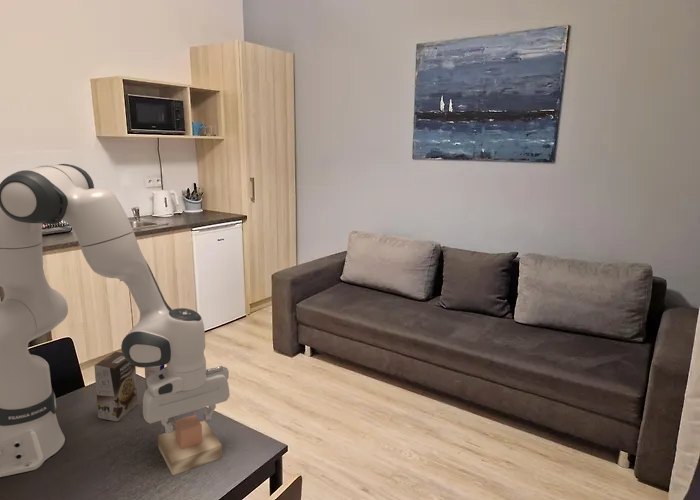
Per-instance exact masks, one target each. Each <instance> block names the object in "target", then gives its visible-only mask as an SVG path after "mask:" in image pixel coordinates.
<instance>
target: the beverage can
mask: <svg viewBox="0 0 700 500" xmlns="http://www.w3.org/2000/svg"><path fill="white" fill-rule="evenodd" d="M164 368H165V365H161V366H155V367H145V368H144V379H145V381H144V382H145V391H146V390H147V388H148V386H147V383H146V379H147V378H148V377H149V376H151V375H153V374H155V373H156V372H158V371H160V370H162V369H164Z"/></svg>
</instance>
